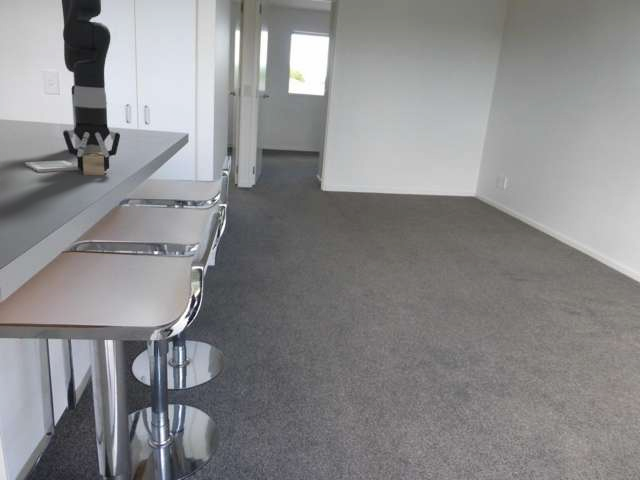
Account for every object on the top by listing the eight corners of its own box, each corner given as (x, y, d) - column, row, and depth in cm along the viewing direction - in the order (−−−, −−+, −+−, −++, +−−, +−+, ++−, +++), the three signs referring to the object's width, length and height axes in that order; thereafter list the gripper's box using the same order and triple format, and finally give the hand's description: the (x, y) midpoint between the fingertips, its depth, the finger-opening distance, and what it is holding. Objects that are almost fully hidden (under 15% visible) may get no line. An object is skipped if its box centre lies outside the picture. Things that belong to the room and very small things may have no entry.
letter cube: (83, 170, 135) (82, 151, 134) (103, 171, 137) (103, 152, 136) (83, 174, 131) (82, 155, 129) (104, 174, 133) (103, 155, 131)
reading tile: (25, 165, 135) (25, 161, 135) (64, 163, 142) (64, 160, 142) (38, 172, 129) (38, 168, 129) (78, 169, 136) (78, 166, 136)
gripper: (58, 104, 123) (63, 173, 128) (121, 108, 128) (123, 173, 134) (59, 102, 129) (64, 167, 134) (119, 105, 135) (121, 168, 140)
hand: (94, 170), depth 134 cm, fingers closed on letter cube, 5 cm apart
